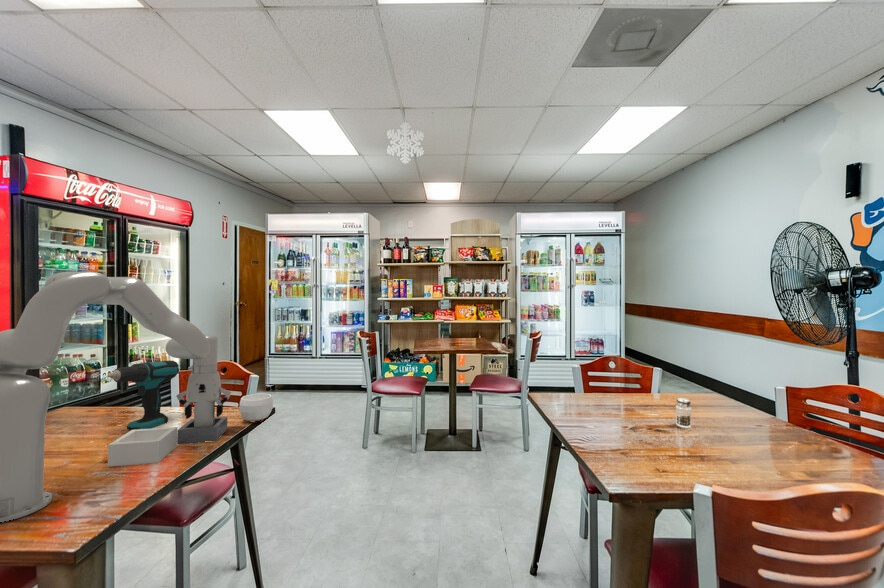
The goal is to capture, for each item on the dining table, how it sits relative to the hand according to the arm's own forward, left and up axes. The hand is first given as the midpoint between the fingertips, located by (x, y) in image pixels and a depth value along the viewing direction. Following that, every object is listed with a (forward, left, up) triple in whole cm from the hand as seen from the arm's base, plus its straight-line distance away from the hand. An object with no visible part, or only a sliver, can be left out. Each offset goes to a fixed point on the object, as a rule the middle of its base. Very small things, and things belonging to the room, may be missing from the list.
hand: (204, 416), depth 135 cm
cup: (+16, -14, -7) cm, 23 cm away
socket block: (0, 0, -7) cm, 7 cm away
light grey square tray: (-14, +12, -7) cm, 20 cm away
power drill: (+16, +26, -7) cm, 31 cm away
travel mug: (0, 0, -7) cm, 7 cm away
